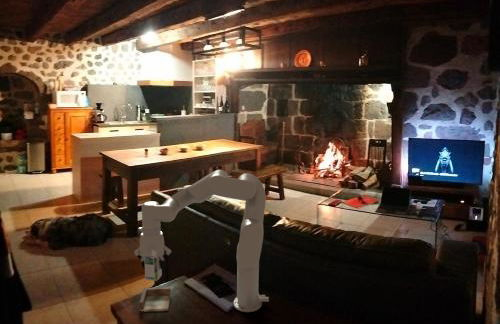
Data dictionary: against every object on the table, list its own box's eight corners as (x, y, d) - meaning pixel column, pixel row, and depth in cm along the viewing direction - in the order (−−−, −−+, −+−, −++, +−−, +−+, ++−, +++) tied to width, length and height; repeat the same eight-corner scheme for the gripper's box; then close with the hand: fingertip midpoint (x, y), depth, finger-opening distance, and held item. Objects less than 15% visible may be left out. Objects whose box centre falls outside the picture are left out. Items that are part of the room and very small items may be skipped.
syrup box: (144, 280, 176) (143, 249, 173) (150, 273, 182) (149, 243, 179) (156, 281, 175) (155, 250, 172) (162, 275, 181) (161, 244, 178)
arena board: (170, 295, 187) (170, 287, 186) (168, 310, 176) (167, 301, 175) (144, 296, 186) (143, 288, 185) (139, 311, 175) (139, 302, 174)
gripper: (129, 234, 169) (131, 272, 173) (171, 232, 171) (172, 271, 175) (132, 227, 177) (134, 264, 181) (172, 226, 178) (174, 263, 182)
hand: (153, 267), depth 178 cm, fingers closed on syrup box, 6 cm apart
